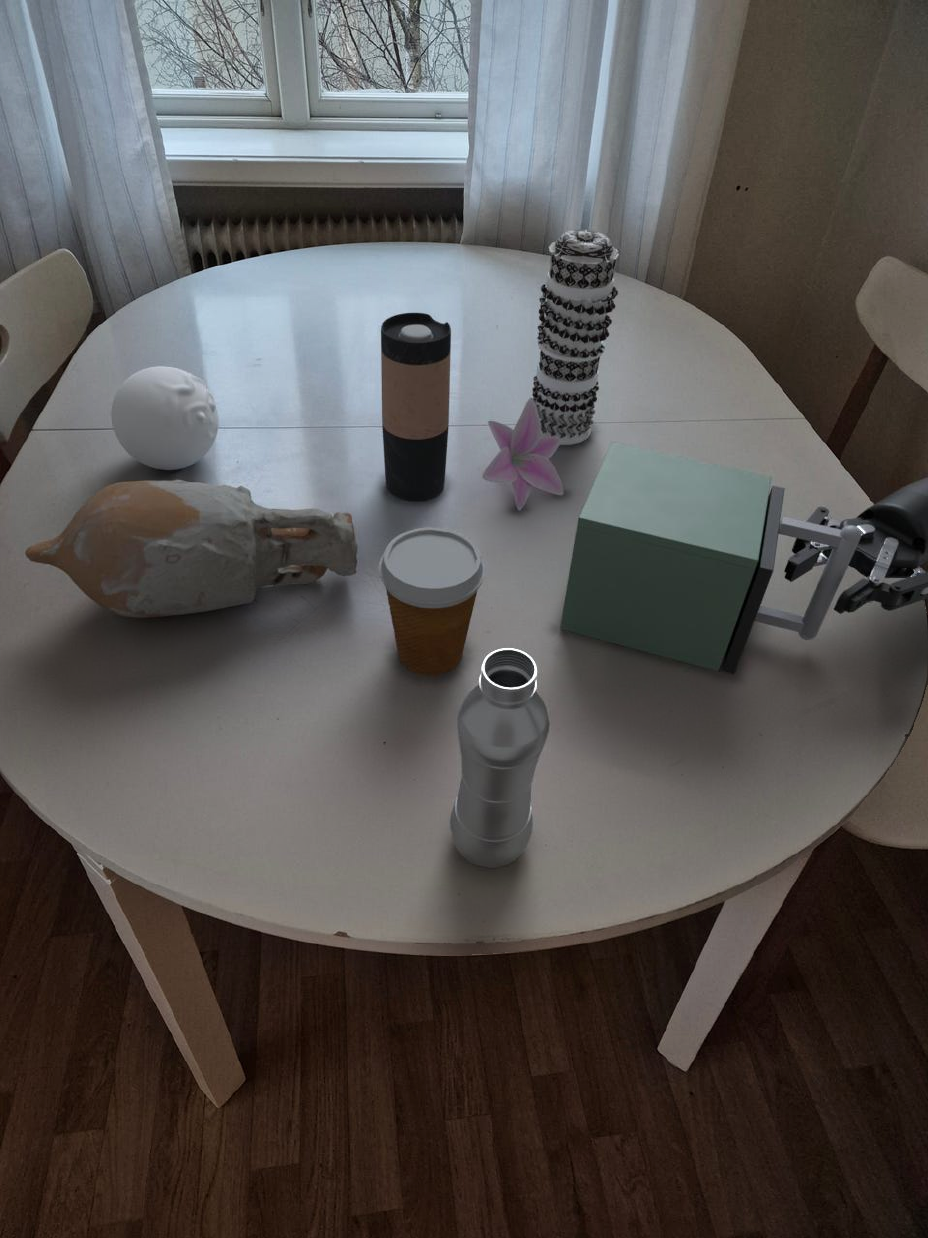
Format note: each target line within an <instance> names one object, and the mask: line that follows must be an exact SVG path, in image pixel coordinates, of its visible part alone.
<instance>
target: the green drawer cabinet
mask: <svg viewBox="0 0 928 1238" xmlns="http://www.w3.org/2000/svg"><path fill="white" fill-rule="evenodd" d="M771 484H772V476H770V475H765V474H761V473H755V472H751V471H747V470H743V469H738V468H733V467H729V466H725V465H719V464H715V463H711V462H706V461H701V460H697V459H692V458H688V457H682V456H678V455H674V454H669V453H665V452H660V451H656V450H652V449H647V448H641V447H637V446H634V445H629V444H623V443H619V442H614V441H611V442H610V444H609V447H608V449H607V451H606V454H605V456H604V458H603V460H602V462H601V465H600V468H599V469H598V472H597V474H596V476H595V479H594V480H593V483H592V486H591V488H590V490H589V493H588V495H587V498H586V500H585V502H584V505H583V507H582V509H581V511H580V514H579V516H578V519H577V526H576V532H575V535H574V536H575V538H574V543H573V549H572V553H571V554H572V555H571V561H570V566H569V572H568V579H567V585H566V591H565V596H564V602H563V609H562V614H561V620H560V621H561V622H560V628H559V629H560V630H563V631H566V632H570V633H573V634H578V635H582V636H584V637H589V638H593V639H596V640H599V641H604V642H606V643H607V642H608V643H611V644H615V645H619V646H623V647H626V648H628V649H629V648H630V649H633V650H637V651H641V652H644V653H648V654H652V655H655V656H659V657H662V658H667V659H671V660H674V661H678V662H681V663H685V664H689V665H693V666H696V667H700V668H703V669H707V670H712V671H715V672H719V671H720V668H721V665H722V664H723V661H724V657H725V652H726V649H727V647H728V644H729V641H730V638H731V635H732V633H733V630H734V627H735V624H736V621H737V619H738V616H739V613H740V610H741V608H742V605H743V602H744V599H745V596H746V594H747V591H748V588H749V585H750V582H751V580H752V577H753V574H754V571H755V568H756V566H757V563H758V559H759V553H760V547H761V540H762V534H763V528H764V522H765V515H766V509H767V503H768V497H769V494H770V491H771Z"/></svg>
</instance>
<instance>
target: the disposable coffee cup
mask: <svg viewBox="0 0 928 1238" xmlns="http://www.w3.org/2000/svg"><path fill="white" fill-rule="evenodd" d="M486 571H487V569H486V563H485V561H484V560H483V557H482V556H481V552H480V550H479V547H478V546H477V545H476V544H475V542H474V541H472V540H471V539H470V538H469V537H467V536H466V535H464V534H463V533H460V532H458V531H456V530H452V529H449V528H443V527H435V526H434V527H432V526H430V527H419V528H415V529H412V530H408V531H405V532H403V533H401V534H398V535H397V536H396V537H394V538H393V539H392V540H391V541H389V543H388V544H387V545H386V548H385V550H384V553H383V554H382V556H381V557H380V560H379V562H378V574H379V579H380V580H381V582H382V584H383V585H384V588H385V590H386V596H387V601H388V606H389V611H390V612H389V613H390V616H391V617H390V619H391V624H392V629H393V634H394V639H395V645H396V648H397V655H398V659H399V661H400V663H401V664H402V665H403V666H404V667H405V668H406V669H408V670H409V671H411V672H413V673H415V674H419V675H422V676H423V675H424V676H438V675H443V674H445V673H449V672H450V671H452V670H453V669H454V668H456V667H457V666H458V665H459V664H460V663H461V660H462V658H463V653H464V648H465V644H466V641H467V637H468V633H469V632H468V631H469V629H470V624H471V619H472V615H473V611H474V606H475V603H476V598H477V595H478V594H477V593H478V590H479V589H480V587H481V586H482V584H483V582H484V580H485V577H486Z"/></svg>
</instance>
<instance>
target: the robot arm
mask: <svg viewBox="0 0 928 1238" xmlns="http://www.w3.org/2000/svg"><path fill="white" fill-rule="evenodd" d="M829 513H830V510H829V508H826V507H825V506H818V507H816V508H815V510H814V511H813V513H812V514H810V517H808V519H807V520H806V521H805V522H809V523H814V524H818V525H822V526H827V527H831V528H835V529H840V530H842V529H843V528H844V527H845V526H849V525H853V526H856V527H857V528H858V529H859V530H860V532H861V538H860V541H859V543H858V545H857V547H856V549H855V552H854V554H853V556H852V558H851V560H850V563H849V565H848V567H850V568H853V569H854V570H856V571H857V572H858V573H859V574H860V575H863V576H864V577H865V578H864V577H863V578H861V579H860V580H858V581H857V582H856V583H854V584H853V585H851V586H849V587H848V588H846V589H844V591H842V592H841V594H840V595H839V596H838V599H837V601H836V602H835V605H834V607H833V610H834V612H837V613H838V614H840V615H841V614H844V613H845V612H847V613H848V614H850V613H854V612H856V611H857V610H859V609H860V608H861V607H863V606H865V605H866V604H872V603H873V602H877V603H880V607H881V608H882V609H883V610H886V611H889V612H891V611H895V610H897V609H900V608H904V607H905V606H910V605H912V604H915V603H918V602H921V601H924V600H928V571H926V570H924V569H923V568H922V567H921V565H923V564H925V563H926V562H927V561H928V474H926V475H925V476H923V477H921V478H920V479H918V480H917V481H914V482H910V483H908V484H906V485H904V486H901V487H900V488H899V489H896V490H895V491H894V492H892V493H891V494H889V495H887V496H885V497H884V498H882V499H880V500H879V501H877V502H876V503H874V504H872V505H871V506H869V507H868V508H866V509H864V510H863V511H862V512H861V513H860V514H859V515H857V516H856V517H854V518H847V519H843V520H842V521H840V520H837V519H835V518H832V517H830V516H829ZM832 550H833V546H829V545H825V544H820V543H816V542H812V541H807V540H803V539H799V538H795V539H794V543H793V546H792V548H791V553H793V555H791V556H789V558H788V561H787V563H786V565H785V567H784V571H783V572H784V573H785V575H784V579H785V580H787V581H788V582H790V583H793V582H794V581H796V580H798V579H799V578H801V577H802V576H804V575H805V574H807V573H808V572H810V571H812V570H813V568H815V567H818V566H823V565H826V563H827V561H828V559H829V556H830V554H831V552H832ZM866 578H867V579H866ZM885 579H900V580H897V581H894V582H891V583H890V584H889V583H887V582H884V580H885Z"/></svg>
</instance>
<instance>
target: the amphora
mask: <svg viewBox="0 0 928 1238" xmlns="http://www.w3.org/2000/svg"><path fill="white" fill-rule="evenodd" d="M358 546H359V545H358V543H357V539H356V531H355V526H354V523H353V517H352V514H350V513H349V512H335V513H334V514H333V515H332V514H331V513H329V512H327V511H324V510H322V509H320V508H317V507H312V508H301V509H287V508H269V507H265V506H262V505H259V504H257V503H255V502H254V500H253V498H252V493H251V490H250V489H248V488H246V487H244V486H242V485H239V486H238V487H234V486H231V485H229V484H228V485H227V484H222V485H217V484H210V483H209V484H208V483H204V482H198V481H197V482H195V481H193V482H192V481H185V480H183V479H174V480H133V481H121V482H120V481H119V482H114V483H111V484H108V485H106V486H104V487H103V488H102V489H100V490H98V491H96V493H94V494H92V496H90V497H89V498H88V499H87V500H86V501H85V502H84V503H83V504H82V505H81V506H80V507H79V509H78V510H77V511H76V513H75V514H74V515H73V516H72V518H71V519H70V521H69V522H68V524H67V525H66V527H65V528H64V529H63V530H62V532H61V533H60V534H59V535H57V536H56V537H54V538H51V539H49V540H45V541H41V542H38V543H34V544H32V545H30V546H28V547H27V548H26V549H25V557H26V558H27V559H28V560H29V561H30V562H33V563H37V564H43V565H49V566H51V567H55V568H57V569H59V570H61V571H62V572H64V573H65V574H66V575H67V576H68V577H69V579H70V580H71V581H72V582H73V583H74V584H75V585H76V586H77V587H78V588H79V590H81V591H82V593H83V594H84V595H86V596H87V597H88V598H89V599H90V600H92V601H93V602H94V603H95V604H97V605H98V606H99V607H101V608H102V609H104V610H106V611H108V612H109V613H111V614H114V615H118V616H121V617H125V618H136V619H137V618H139V619H140V618H142V619H143V618H157V617H159V618H160V617H169V616H180V615H189V614H195V613H196V614H197V613H203V612H209V611H215V610H221V609H227V608H230V607H237V606H241V605H246V604H250V603H252V602H254V599H255V598H256V597H255V596H256V592H257V589H258V588H263V587H267V586H268V587H269V586H279V585H280V586H281V585H296V584H299V585H300V584H301V585H302V584H303V585H308V584H310V583H316V582H317V581H319V580H321V578H322V577H323V576H324V575H325V574H326V572H327V570H329V571H330V572H333V573H335V574H336V575H337V576H341V577H350V576H352V575H356V573H357V567H358V566H357V565H358V557H357V554H358Z"/></svg>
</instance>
